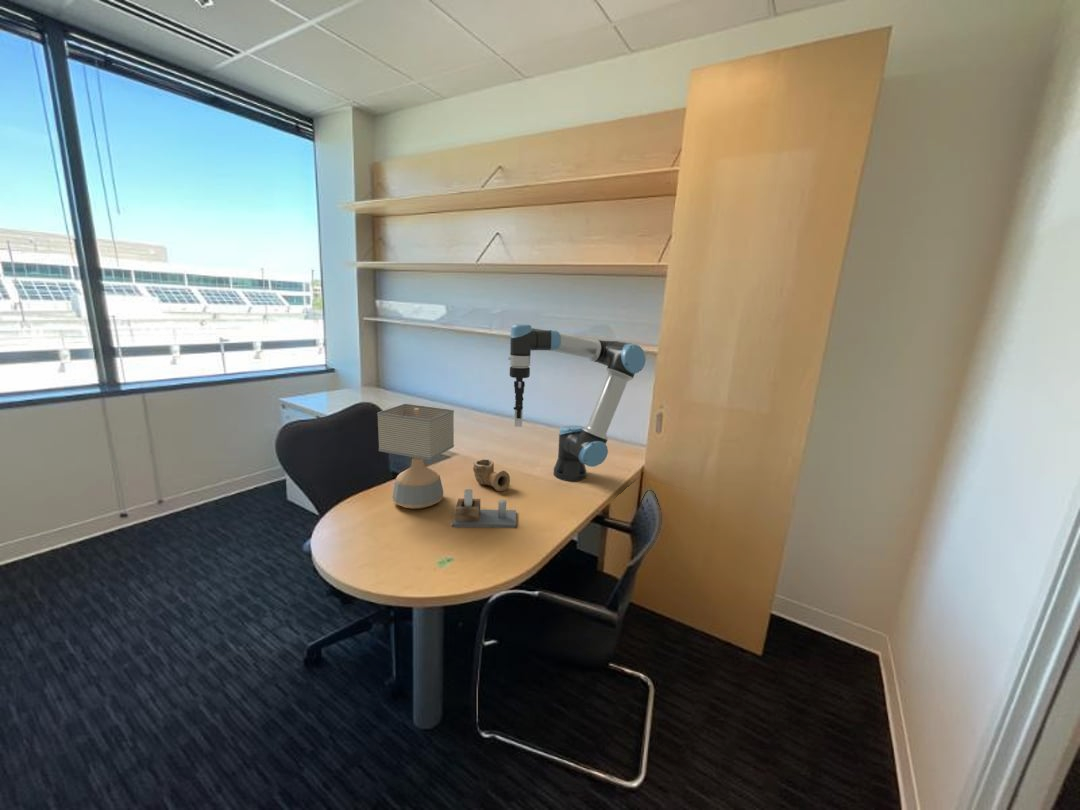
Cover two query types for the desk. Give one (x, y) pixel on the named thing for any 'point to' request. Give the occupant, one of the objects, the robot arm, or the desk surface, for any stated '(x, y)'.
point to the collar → (467, 511)
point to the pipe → (490, 475)
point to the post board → (488, 515)
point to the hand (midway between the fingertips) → (518, 421)
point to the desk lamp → (416, 449)
